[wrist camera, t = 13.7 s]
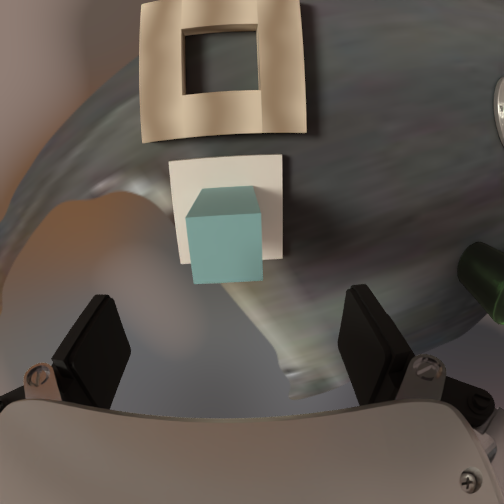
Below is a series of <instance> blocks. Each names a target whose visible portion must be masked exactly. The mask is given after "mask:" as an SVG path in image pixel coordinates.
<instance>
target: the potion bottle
mask: <svg viewBox="0 0 504 504" xmlns="http://www.w3.org/2000/svg"><path fill="white" fill-rule="evenodd" d="M458 278H459V281H460V282H461V283H462V284H463V285H464V286H465V287H466V289H467V290H468V291H469V292H470V293H471V294H472V295H473V296H474V298H475V299H476V300H477V301H478V302H479V303H480V304H481V306H482V307H483V308H484V309H485V310H486V312H487V313H488V314H489V315H490V316H491V318H492V319H493V320H494V321H495V322H496V323H498V324H502V325H504V253H502V252H500V251H498V250H496V249H494V248H492V247H490V246H488V245H486V244H484V243H482V242H476V243H474V244H472V245H470V246H469V247H468V248H467V249H466V250H465V251H464V253H463V255H462V257H461V258H460V262H459V265H458Z"/></svg>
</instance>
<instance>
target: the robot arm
mask: <svg viewBox="0 0 504 504" xmlns="http://www.w3.org/2000/svg"><path fill="white" fill-rule="evenodd" d="M494 116H495V122H496V127H497V131H498V134H499V137H500V140H501V142H502V144H503V146H504V76H503V77H501V78H500V79H499V81H498V82H497V85H496V88H495V92H494ZM338 348H339V351H340V354H341V357H342V359H343V362H344V364H345V367H346V370H347V372H348V375H349V378H350V380H351V383H352V386H353V389H354V391H355V394H356V397H357V399H358V402H359V405H360V406H357V407H352V408H346V409H339V410H332V411H324V412H317V413H309V414H300V415H291V416H278V417H263V418H237V419H236V418H235V419H208V418H183V417H182V418H181V417H167V416H156V415H145V414H137V413H129V412H122V411H115V410H110V407H111V404H112V401H113V398H114V396H115V393H116V390H117V388H118V385H119V383H120V380H121V377H122V375H123V372H124V370H125V367H126V365H127V362H128V360H129V357H130V354H131V349H130V345H129V342H128V340H127V337H126V334H125V331H124V329H123V326H122V323H121V320H120V317H119V314H118V311H117V308H116V305H115V302H114V300H113V299H112V298H110V296H109V295H95V296H94V297H93V299H92V300H91V301H90V303H89V304H88V305H87V307H86V308H85V310H84V311H83V312H82V314H81V315H80V316H79V318H78V319H77V321H76V322H75V324H74V325H73V327H72V328H71V329H70V331H69V332H68V334H67V335H66V337H65V338H64V340H63V341H62V343H61V344H60V346H59V347H58V349H57V351H56V352H55V354H54V355H53V357H52V358H51V359H52V361H53V364H52V366H51V365H49V364H47V363H38V364H35V365H33V366H32V367H30V368H29V369H28V370H27V371H26V373H25V375H24V379H23V383H24V385H23V386H21V387H19V388H17V389H15V390H13V391H11V392H9V393H6V394H4V395H2V396H0V504H504V409H502V408H501V407H499V408H498V409H496V408H495V404H494V400H493V398H492V396H491V395H490V394H489V393H488V392H487V391H485V390H483V389H481V388H477V387H475V386H472V385H469V384H466V383H463V382H461V381H458V380H456V379H453V378H450V377H447V376H446V368H445V365H444V364H443V362H442V361H441V360H439V359H438V358H437V357H435V356H432V355H428V354H420V355H417V356H415V355H414V353H413V351H412V350H411V348H410V347H409V345H408V344H407V342H406V340H405V339H404V337H403V336H402V334H401V333H400V331H399V330H398V328H397V327H396V325H395V324H394V322H393V321H392V319H391V318H390V316H389V315H388V314H386V312H385V311H384V309H383V308H382V306H381V305H380V303H379V302H378V300H377V299H376V297H375V296H374V295H373V293H372V292H371V290H370V289H369V287H368V286H367V285H366V284H361V285H352V286H351V288H350V289H348V290H347V291H346V297H345V303H344V310H343V316H342V321H341V327H340V332H339V338H338Z"/></svg>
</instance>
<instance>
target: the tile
mask: <svg viewBox="0 0 504 504" xmlns="http://www.w3.org/2000/svg"><path fill="white" fill-rule="evenodd" d="M169 171H170V181H171V191H172V201H173V209H174V218H175V226H176V233H177V240H178V247H179V254H180V261H181V264H189V263H191V260H190V252H189V245H188V237H187V228H186V220H185V217H186V216H187V214H188V212H189V210H190V209H191V207H192V205H193V203H194V202H195V200H196V198H197V197H198V195H199V193H200V191H201V190H202V189H204V188H219V187H235V186H253V188H254V192H255V195H256V198H257V201H258V205H259V208H260V211H261V227H262V260H265V259H282V254H283V190H282V155H281V154H257V155H234V156H218V157H204V158H192V159H182V160H172V161H169Z"/></svg>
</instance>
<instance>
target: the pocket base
mask: <svg viewBox="0 0 504 504" xmlns="http://www.w3.org/2000/svg"><path fill="white" fill-rule="evenodd" d="M233 31H256V34H257V56H258V80H259V90H246V91H225V92H211V93H200V94H190V95H186V74H185V36H187V35H196V34H205V33H217V32H233ZM139 47H140V48H139V87H140V114H141V131H142V143H147V142H154V141H162V140H170V139H178V138H188V137H198V136H210V135H224V134H243V133H307V126H306V92H305V70H304V53H303V38H302V25H301V14H300V3H299V0H160V1H155V2H150V3H145V4H142V6H141V21H140V46H139Z"/></svg>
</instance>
